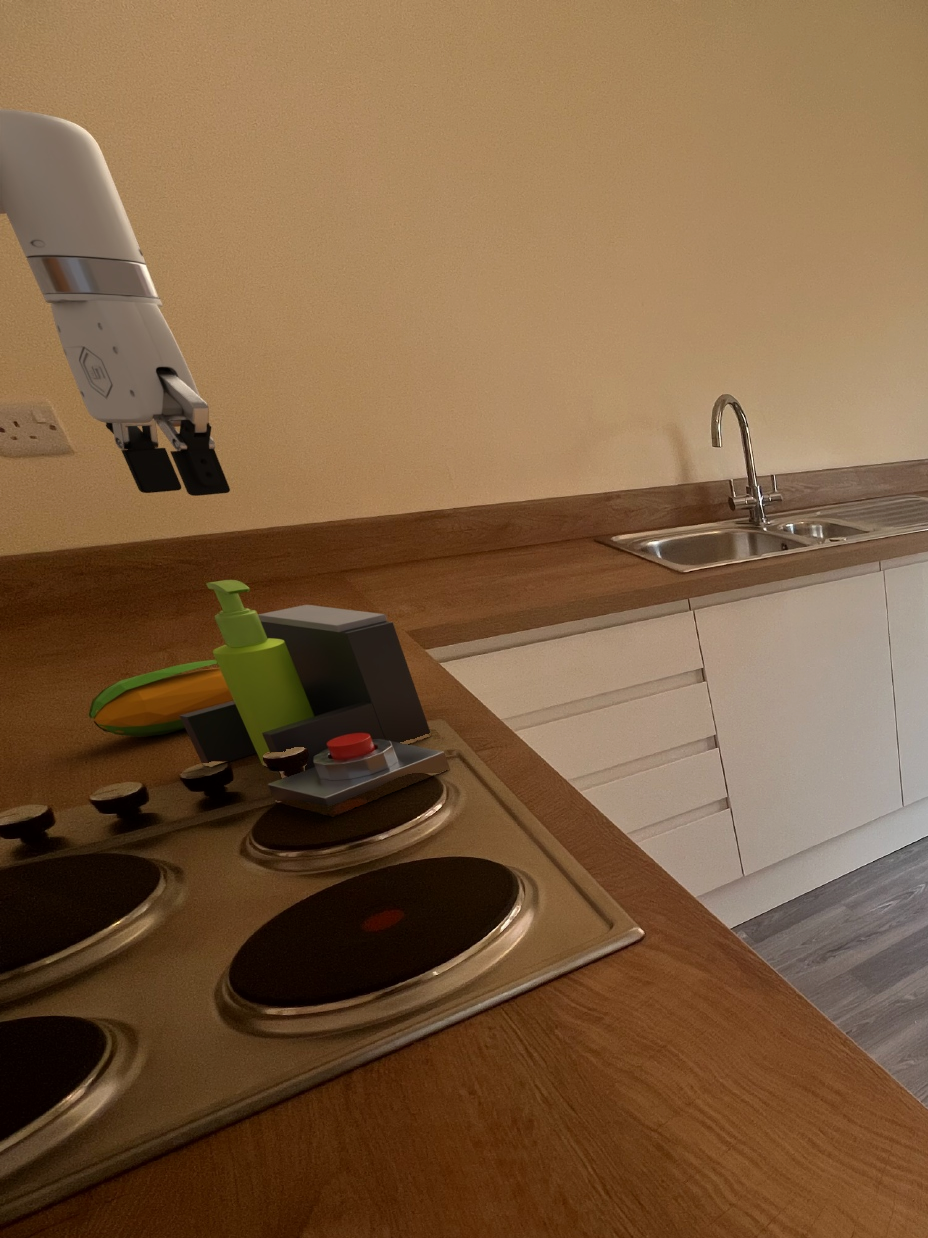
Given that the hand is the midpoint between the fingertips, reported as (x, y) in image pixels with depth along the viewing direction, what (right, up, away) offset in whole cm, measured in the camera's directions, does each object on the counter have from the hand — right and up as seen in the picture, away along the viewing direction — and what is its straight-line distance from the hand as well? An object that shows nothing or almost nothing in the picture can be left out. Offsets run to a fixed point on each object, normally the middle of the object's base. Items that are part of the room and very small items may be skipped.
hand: (185, 491), depth 83 cm
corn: (-21, -21, +24) cm, 39 cm away
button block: (+13, -29, +5) cm, 33 cm away
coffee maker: (+1, -25, +14) cm, 29 cm away
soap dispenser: (0, -26, +12) cm, 29 cm away
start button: (+13, -26, +4) cm, 29 cm away
